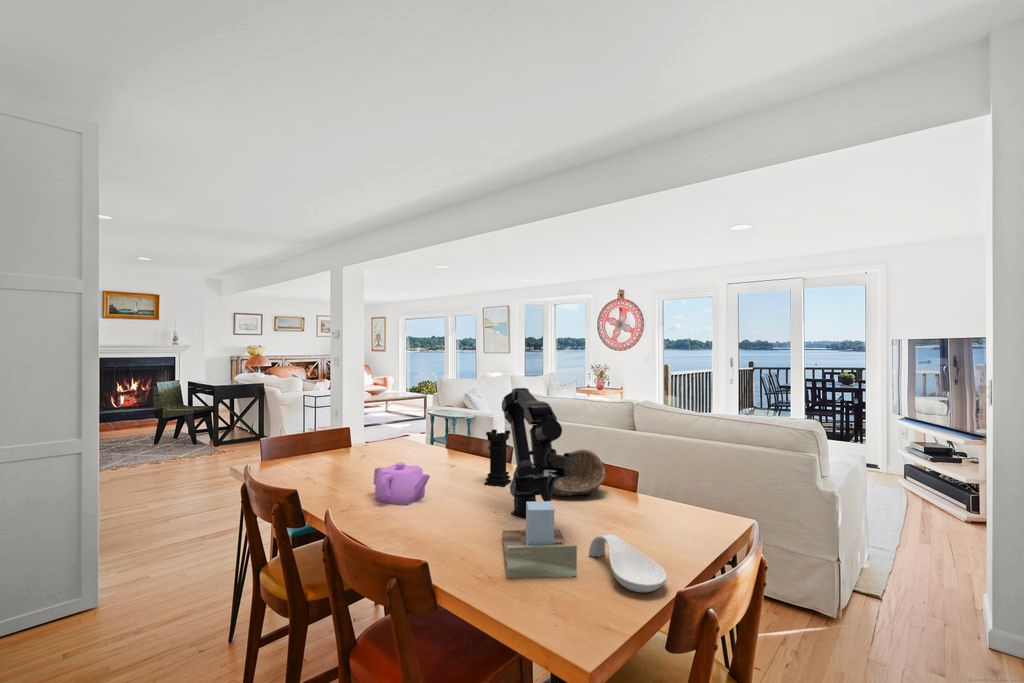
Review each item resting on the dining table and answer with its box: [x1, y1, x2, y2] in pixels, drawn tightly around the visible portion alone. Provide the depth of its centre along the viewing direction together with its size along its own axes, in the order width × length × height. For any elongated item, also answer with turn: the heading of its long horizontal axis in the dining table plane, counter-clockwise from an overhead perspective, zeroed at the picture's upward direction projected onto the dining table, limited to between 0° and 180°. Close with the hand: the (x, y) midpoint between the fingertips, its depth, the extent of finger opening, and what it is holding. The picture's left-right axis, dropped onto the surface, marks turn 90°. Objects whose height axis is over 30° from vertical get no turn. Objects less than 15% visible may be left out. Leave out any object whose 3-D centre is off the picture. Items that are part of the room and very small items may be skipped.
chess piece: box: [484, 429, 512, 488], centre depth 192 cm, size 8×8×20 cm
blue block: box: [525, 500, 555, 546], centre depth 119 cm, size 6×6×13 cm
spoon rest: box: [588, 533, 668, 593], centre depth 116 cm, size 24×12×7 cm, turn 23°
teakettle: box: [373, 462, 431, 506], centre depth 173 cm, size 17×17×12 cm
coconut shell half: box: [552, 448, 608, 497], centre depth 181 cm, size 15×16×25 cm
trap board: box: [501, 529, 578, 579], centre depth 126 cm, size 24×16×7 cm, turn 4°
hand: (547, 503), depth 137 cm, fingers closed
